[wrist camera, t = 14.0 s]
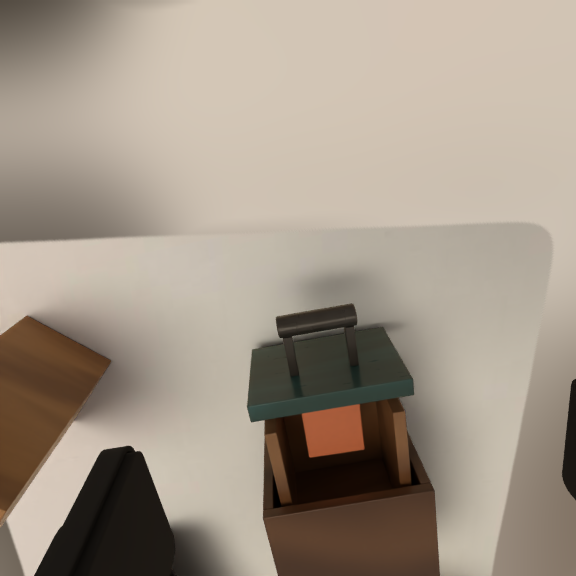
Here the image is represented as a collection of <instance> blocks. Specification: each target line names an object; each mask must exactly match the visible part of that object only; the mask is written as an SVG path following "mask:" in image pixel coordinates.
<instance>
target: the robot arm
mask: <svg viewBox="0 0 576 576" xmlns="http://www.w3.org/2000/svg"><path fill="white" fill-rule="evenodd" d="M562 477H563V481H564V484H565V486H566V488H567V489H568V491H569V492H570V494H571V495H572V496H573V497H574V498H575V500H576V379H575V380H573V381H572V384H571V393H570V401H569V411H568V421H567V431H566V440H565V450H564V460H563V470H562ZM174 554H175V541H174V536H173V533H172V531H171V528H170V525H169V523H168V520H167V517H166V515H165V512H164V509H163V507H162V504H161V501H160V499H159V496H158V493H157V491H156V488H155V485H154V483H153V480H152V477H151V475H150V472H149V469H148V467H147V464H146V461H145V459H144V456H143V454H142V453H141V452H140V451H137V452H135V450H134V448H133V447H131V446H124V447H118V448H112V449H106V450H103V451H102V452H101V453H100V454H99V456H98V458H97V460H96V462H95V464H94V466H93V467H92V469H91V471H90V473H89V475H88V477H87V479H86V481H85V483H84V485H83V487H82V489H81V491H80V493H79V495H78V497H77V499H76V501H75V503H74V505H73V507H72V508H71V510H70V512H69V514H68V516H67V518H66V520H65V522H64V524H63V526H62V527H60V529H59V530H58V532H57V533H56V535H55V536H54V538H53V540H52V542H51V544H50V546H49V548H48V550H47V552H46V554H45V556H44V558H43V560H42V562H41V563H40V565H39V567H38V569H37V571H36V573H35V575H34V576H170V573H171V569H172V564H173V559H174Z"/></svg>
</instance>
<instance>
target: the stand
mask: <svg viewBox="0 0 576 576" xmlns="http://www.w3.org/2000/svg"><path fill="white" fill-rule="evenodd" d="M110 363H111V360H109V359H107V358H105V357H103V356H101V355H99V354H97V353H96V352H94V351H92V350H90V349H88V348H86V347H84V346H82V345H81V344H79V343H77V342H75V341H73V340H71V339H69V338H67V337H66V336H64V335H62V334H60V333H58V332H56V331H54V330H52V329H51V328H49V327H47V326H45V325H43V324H41V323H39V322H37V321H36V320H34V319H32V318H30V317H28V316H26V317H24V318H23V319H22V320H20V321H19V322H18V323H16V324H15V325H14V326H12V327H11V328H10V329H8V330H7V331H6V332H4V333H3V334H2V335H0V528H1V526H2V525H3V523H4V522H5V520H6V519H7V517H8V516H9V515H10V513H11V512H12V510H13V509H14V507H15V506H16V504H17V503H18V501H19V500H20V499H21V497H22V496H23V494H24V493H25V491H26V490H27V488H28V487H29V485H30V484H31V482H32V481H33V480H34V478H35V477H36V475H37V474H38V472H39V471H40V469H41V468H42V466H43V465H44V463H45V462H46V461H47V459H48V458H49V456H50V455H51V453H52V452H53V450H54V449H55V447H56V446H57V445H58V443H59V442H60V440H61V439H62V437H63V436H64V434H65V433H66V431H67V430H68V428H69V427H70V426H71V424H72V423H73V421H74V420H75V418H76V416H77V415H78V413H79V412H80V410H81V409H82V407H83V405H84V404H85V402H86V401H87V399H88V398H89V396H90V394H91V393H92V391H93V390H94V388H95V387H96V385H97V383H98V382H99V380H100V379H101V377H102V376H103V374H104V372H105V371H106V369H107V368H108V366H109V365H110Z"/></svg>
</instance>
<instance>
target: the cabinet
mask: <svg viewBox="0 0 576 576" xmlns="http://www.w3.org/2000/svg"><path fill="white" fill-rule="evenodd" d="M407 438H408V449H409V460H410V471H411V483H412V486H408V487H402V488H396V489H390V490H384V491H378V492H371V493H365V494H359V495H353V496H347V497H341V498H335V499H329V500H322V501H316V502H310V503H304V504H298V505H292V506H286V507H281V503H280V498H279V494H278V490H277V486H276V482H275V477H274V473H273V469H272V465H271V461H270V457H269V452H268V448H267V444H266V440H265V446H264V495H263V520H264V524H265V528H266V532H267V535H268V539H269V543H270V547H271V551H272V554H273V558H274V562H275V566H276V569H277V573H278V576H440V570H439V554H438V539H437V523H436V507H435V491H434V489H433V486H432V484H431V482H430V480H429V478H428V475H427V473H426V471H425V469H424V467H423V464H422V462H421V460H420V458H419V456H418V454H417V451H416V449H415V447H414V445H413V443H412V440H411V438H410V436H409V434H408V432H407Z"/></svg>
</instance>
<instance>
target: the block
mask: <svg viewBox="0 0 576 576" xmlns="http://www.w3.org/2000/svg"><path fill="white" fill-rule="evenodd" d="M302 419H303V425H304V430H305V436H306V442H307V448H308V453H309V457H310V458H312V457H318V456H325V455H331V454H338V453H345V452H351V451H358V450H364V449H365V446H364V437H363V429H362V420H361V411H360V404H357V405H351V406H345V407H339V408H333V409H327V410H321V411H315V412H309V413H303V414H302Z"/></svg>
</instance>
